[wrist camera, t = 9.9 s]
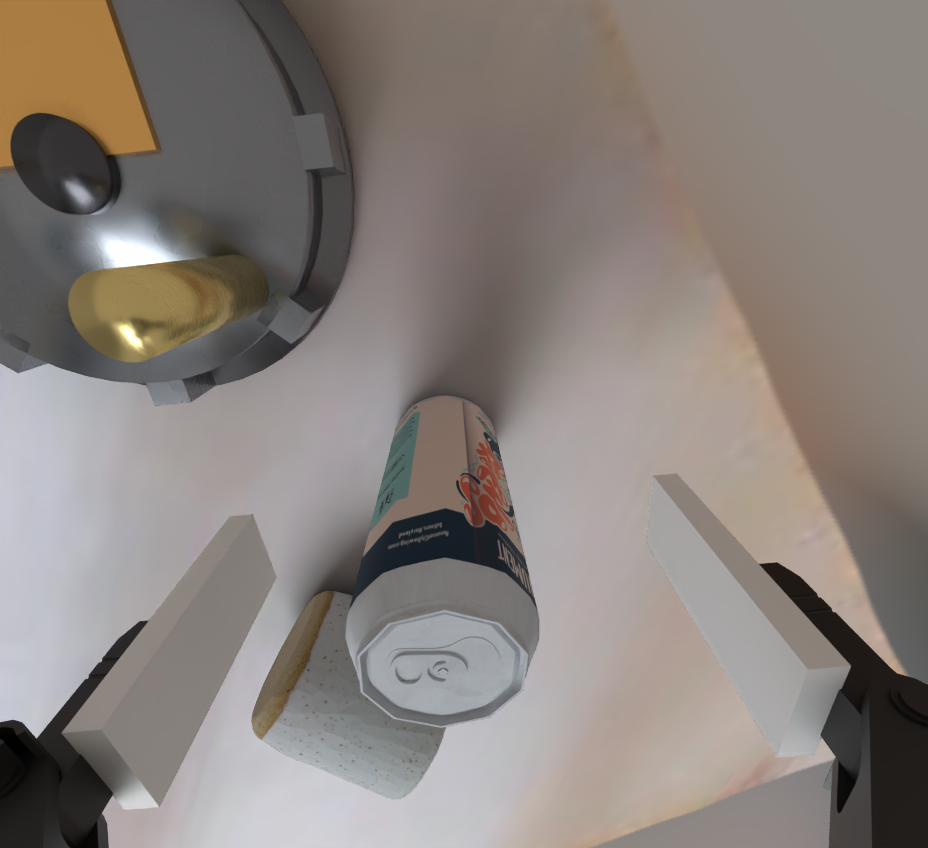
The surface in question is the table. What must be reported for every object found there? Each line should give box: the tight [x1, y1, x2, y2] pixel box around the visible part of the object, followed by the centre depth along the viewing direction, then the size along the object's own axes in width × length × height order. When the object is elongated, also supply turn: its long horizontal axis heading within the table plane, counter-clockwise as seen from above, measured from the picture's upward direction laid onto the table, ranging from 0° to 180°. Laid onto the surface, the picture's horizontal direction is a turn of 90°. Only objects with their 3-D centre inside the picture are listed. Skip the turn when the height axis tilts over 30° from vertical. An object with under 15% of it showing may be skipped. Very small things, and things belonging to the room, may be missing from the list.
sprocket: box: [0, 0, 347, 406], centre depth 11 cm, size 16×16×8 cm
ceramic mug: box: [252, 591, 446, 799], centre depth 23 cm, size 11×8×8 cm
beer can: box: [345, 395, 539, 728], centre depth 15 cm, size 5×5×12 cm
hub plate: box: [138, 0, 354, 385], centre depth 15 cm, size 16×16×1 cm
